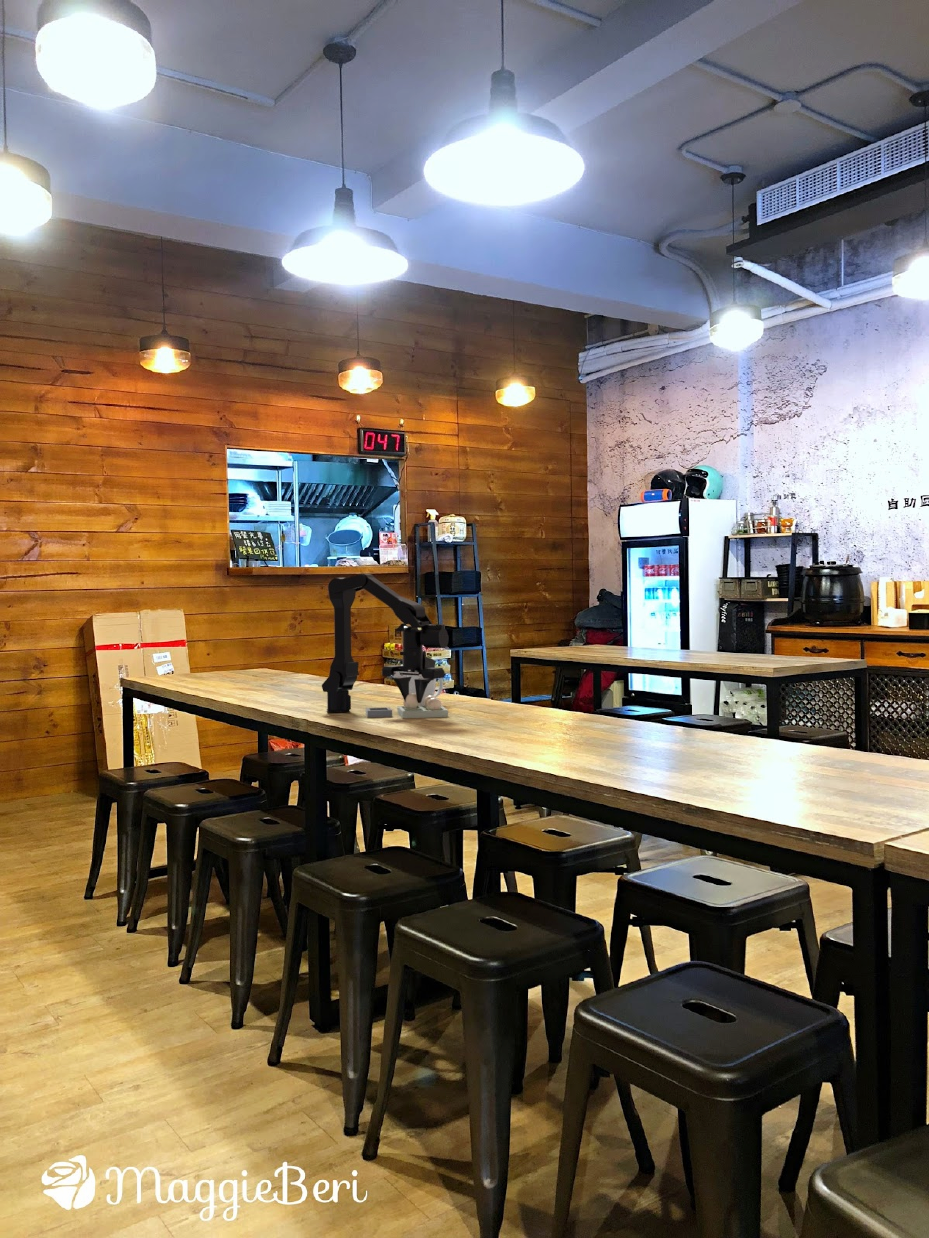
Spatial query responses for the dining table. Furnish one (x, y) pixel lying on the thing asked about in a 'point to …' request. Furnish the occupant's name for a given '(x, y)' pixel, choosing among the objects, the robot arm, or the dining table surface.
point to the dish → (379, 712)
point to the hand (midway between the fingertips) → (413, 702)
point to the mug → (429, 689)
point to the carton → (423, 709)
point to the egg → (412, 700)
